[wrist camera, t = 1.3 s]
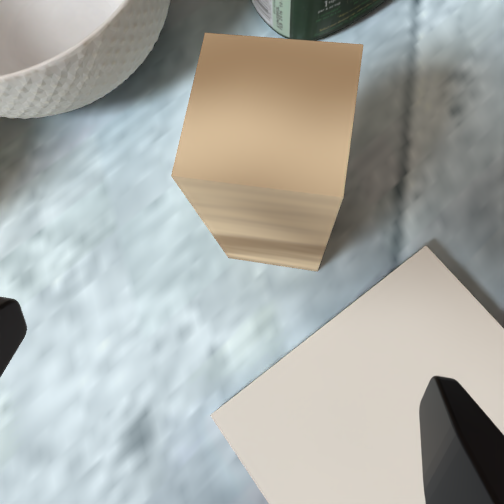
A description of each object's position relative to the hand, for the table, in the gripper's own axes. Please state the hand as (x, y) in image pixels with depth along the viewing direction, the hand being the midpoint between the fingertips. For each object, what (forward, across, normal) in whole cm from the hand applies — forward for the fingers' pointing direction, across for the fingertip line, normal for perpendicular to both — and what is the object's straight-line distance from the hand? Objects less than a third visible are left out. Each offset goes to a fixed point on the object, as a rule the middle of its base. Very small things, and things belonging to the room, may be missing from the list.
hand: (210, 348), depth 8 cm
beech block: (+14, 0, +4) cm, 15 cm away
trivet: (+7, -8, +11) cm, 16 cm away
